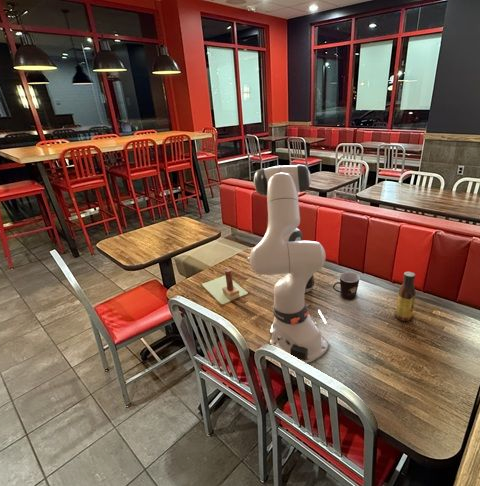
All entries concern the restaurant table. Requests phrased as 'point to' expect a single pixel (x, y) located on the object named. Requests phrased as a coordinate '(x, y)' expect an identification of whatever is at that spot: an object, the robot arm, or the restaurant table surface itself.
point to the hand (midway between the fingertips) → (252, 263)
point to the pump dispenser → (309, 284)
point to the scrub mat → (216, 289)
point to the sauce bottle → (406, 298)
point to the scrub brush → (230, 286)
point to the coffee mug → (348, 285)
